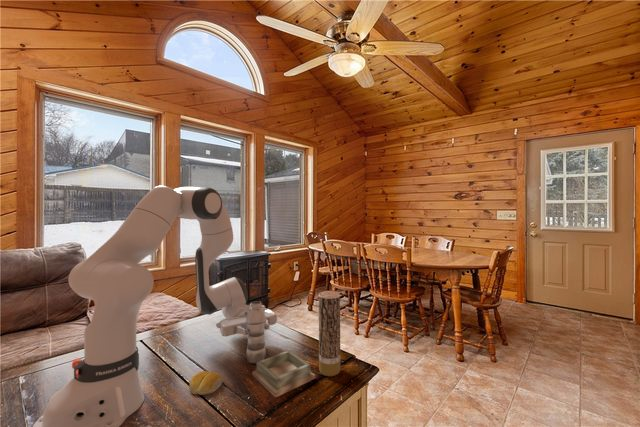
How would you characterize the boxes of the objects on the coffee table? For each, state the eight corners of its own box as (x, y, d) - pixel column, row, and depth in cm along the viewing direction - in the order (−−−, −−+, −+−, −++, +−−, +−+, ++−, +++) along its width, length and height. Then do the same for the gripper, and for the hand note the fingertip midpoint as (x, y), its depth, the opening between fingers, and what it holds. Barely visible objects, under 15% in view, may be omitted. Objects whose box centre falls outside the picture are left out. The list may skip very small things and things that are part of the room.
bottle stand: (275, 397, 80) (275, 382, 80) (252, 375, 91) (252, 362, 91) (315, 378, 89) (315, 364, 89) (289, 360, 100) (289, 348, 100)
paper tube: (340, 366, 96) (340, 291, 95) (340, 378, 89) (339, 297, 89) (320, 365, 96) (319, 290, 96) (318, 377, 90) (317, 296, 89)
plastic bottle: (244, 358, 101) (243, 301, 100) (263, 354, 104) (263, 298, 103) (248, 368, 95) (247, 307, 94) (268, 363, 98) (267, 304, 97)
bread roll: (201, 377, 90) (201, 364, 90) (226, 382, 88) (226, 368, 88) (181, 393, 82) (181, 379, 82) (208, 399, 80) (208, 384, 80)
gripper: (214, 315, 104) (226, 327, 92) (267, 304, 115) (283, 314, 104) (214, 332, 104) (226, 347, 92) (267, 319, 115) (283, 331, 104)
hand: (257, 329), depth 98 cm, fingers closed on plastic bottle, 6 cm apart
